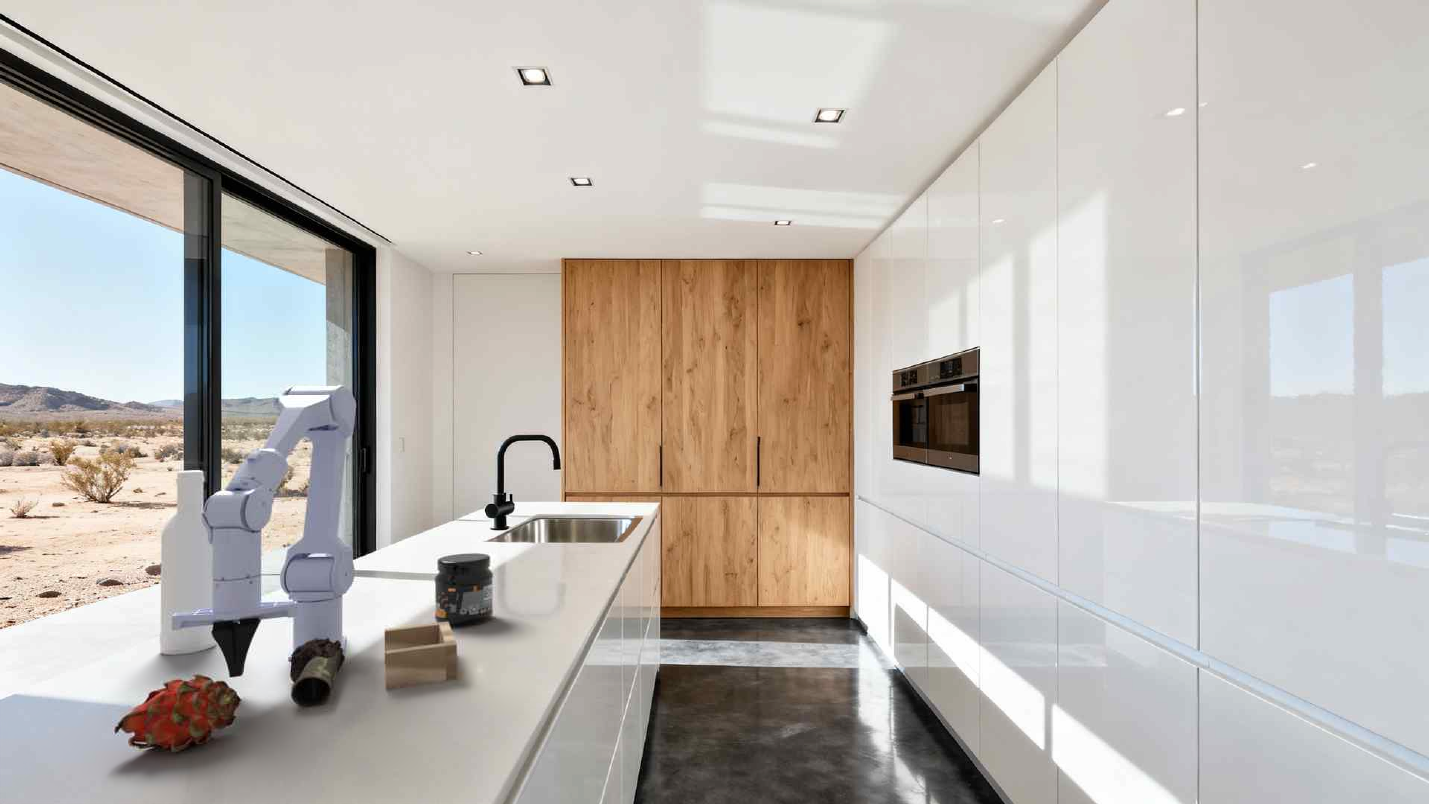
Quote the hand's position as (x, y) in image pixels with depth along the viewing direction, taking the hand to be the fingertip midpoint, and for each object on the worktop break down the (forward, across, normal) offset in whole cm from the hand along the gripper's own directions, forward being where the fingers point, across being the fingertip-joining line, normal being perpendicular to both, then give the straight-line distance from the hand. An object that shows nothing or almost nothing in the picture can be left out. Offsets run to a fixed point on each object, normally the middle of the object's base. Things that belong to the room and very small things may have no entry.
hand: (236, 674), depth 101 cm
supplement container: (+3, +33, +26) cm, 42 cm away
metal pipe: (+3, +10, 0) cm, 10 cm away
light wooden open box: (+3, +23, 0) cm, 23 cm away
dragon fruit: (+3, -3, -16) cm, 17 cm away
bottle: (+3, -11, +30) cm, 32 cm away
